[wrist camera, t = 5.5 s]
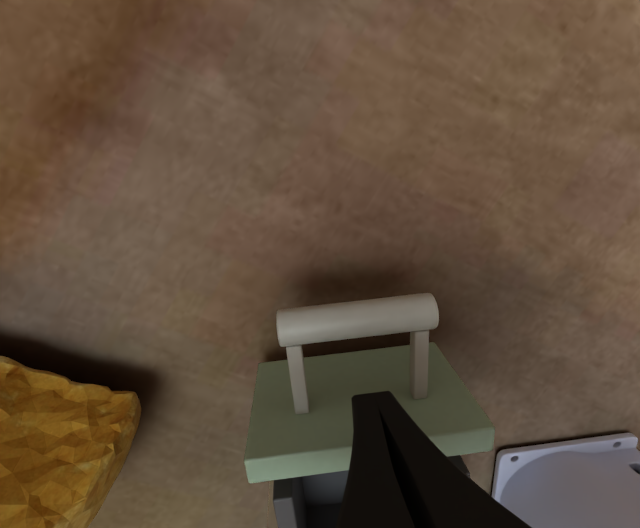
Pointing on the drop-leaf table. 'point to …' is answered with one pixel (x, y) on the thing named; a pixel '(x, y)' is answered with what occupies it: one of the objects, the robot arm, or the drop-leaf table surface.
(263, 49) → the drop-leaf table surface
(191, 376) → the drop-leaf table surface
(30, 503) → the decorative stone
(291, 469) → the green drawer
